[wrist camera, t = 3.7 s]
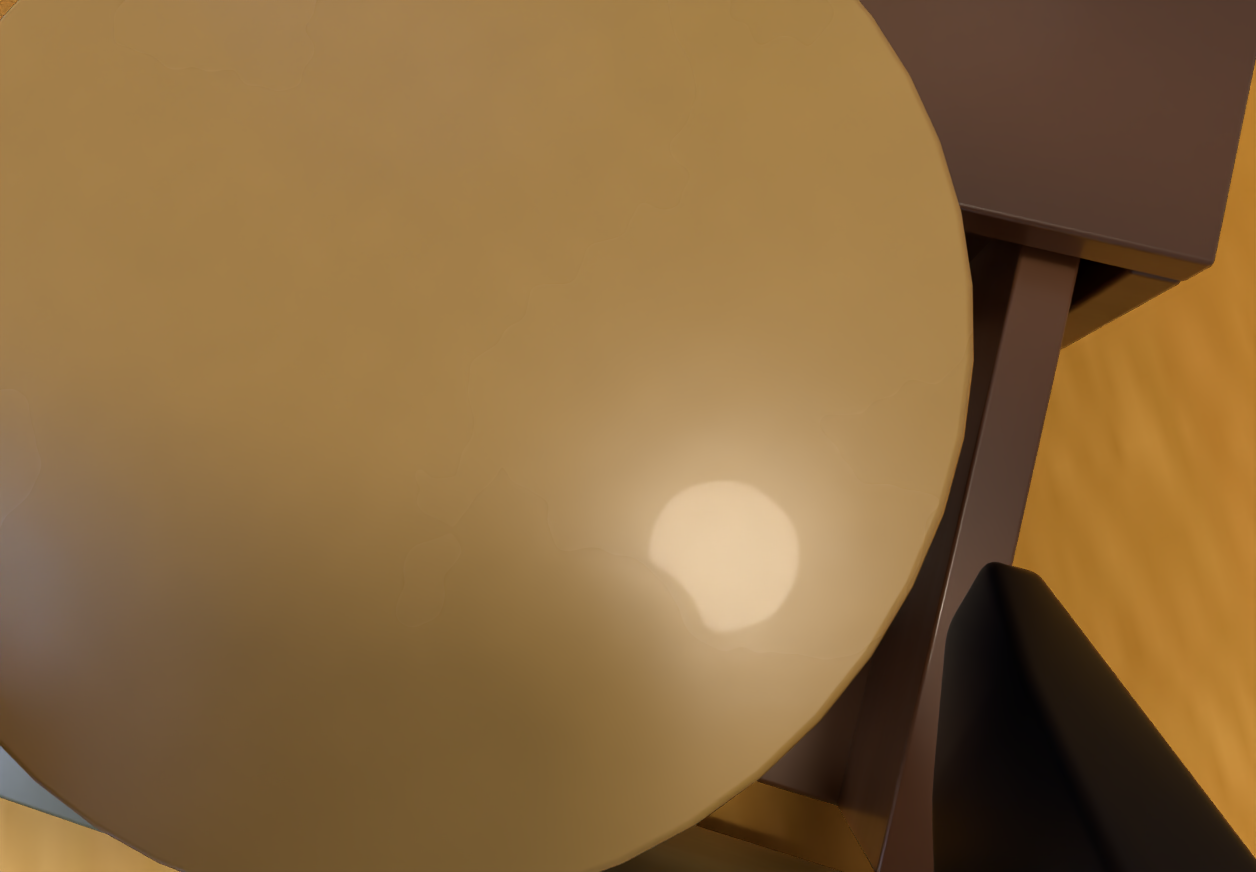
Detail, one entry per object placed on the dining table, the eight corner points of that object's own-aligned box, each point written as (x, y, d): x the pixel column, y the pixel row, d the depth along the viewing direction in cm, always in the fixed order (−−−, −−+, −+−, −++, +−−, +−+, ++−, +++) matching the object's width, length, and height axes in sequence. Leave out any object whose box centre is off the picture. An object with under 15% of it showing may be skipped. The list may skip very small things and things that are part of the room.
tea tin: (599, 748, 14) (378, 1209, 4) (337, 482, 15) (-349, 344, 5) (862, 465, 14) (1237, 269, 4) (589, 222, 15) (400, -383, 5)
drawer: (813, 1226, 14) (863, 1514, 10) (82, 962, 15) (-147, 1114, 11) (1033, 263, 16) (1156, 158, 12) (364, 108, 17) (259, -34, 13)
